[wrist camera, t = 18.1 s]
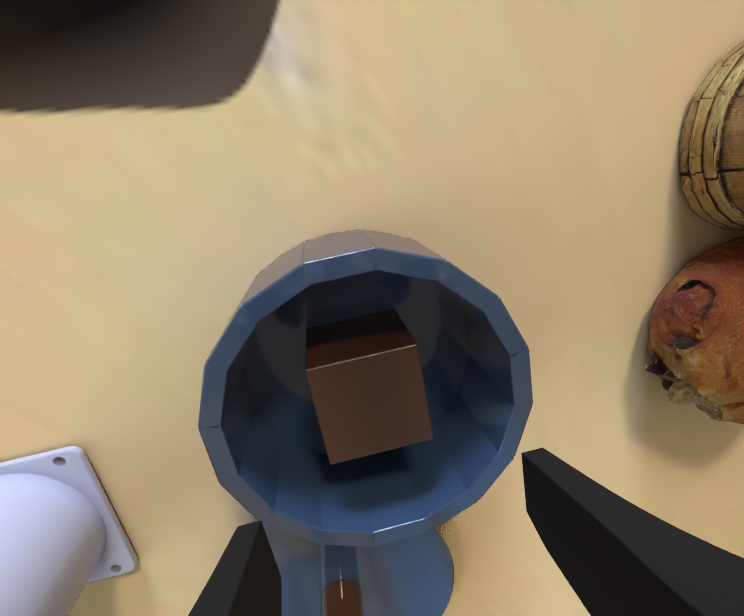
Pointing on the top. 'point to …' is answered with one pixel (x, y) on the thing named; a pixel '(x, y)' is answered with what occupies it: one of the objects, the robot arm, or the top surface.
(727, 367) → the bread roll
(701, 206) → the wooden mug
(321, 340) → the block
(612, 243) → the top surface
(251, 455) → the bowl
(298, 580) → the bowl lid
